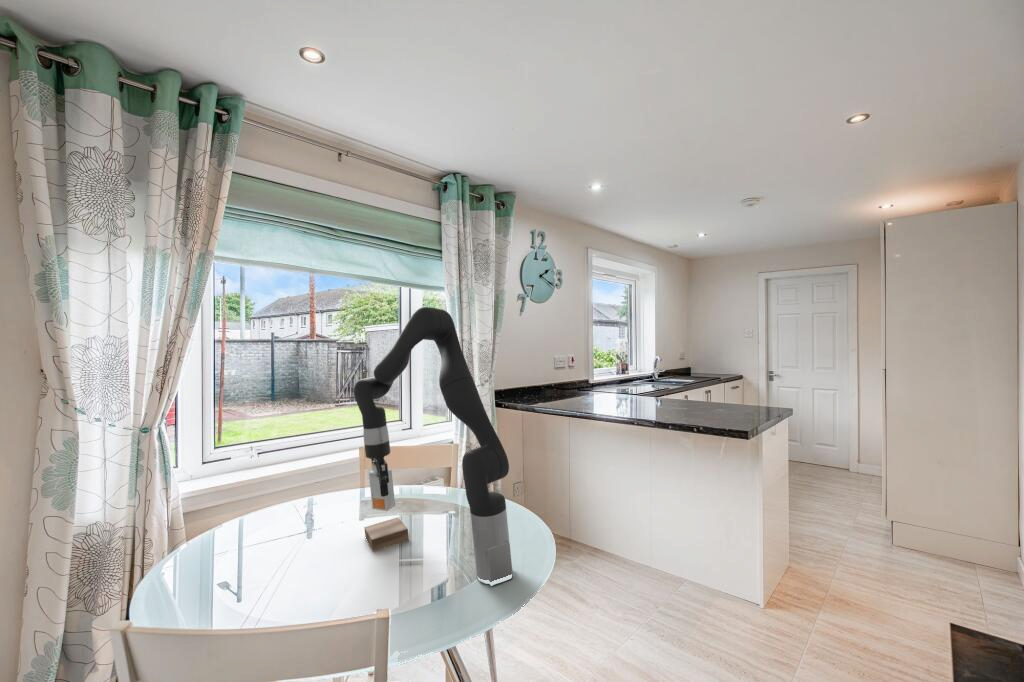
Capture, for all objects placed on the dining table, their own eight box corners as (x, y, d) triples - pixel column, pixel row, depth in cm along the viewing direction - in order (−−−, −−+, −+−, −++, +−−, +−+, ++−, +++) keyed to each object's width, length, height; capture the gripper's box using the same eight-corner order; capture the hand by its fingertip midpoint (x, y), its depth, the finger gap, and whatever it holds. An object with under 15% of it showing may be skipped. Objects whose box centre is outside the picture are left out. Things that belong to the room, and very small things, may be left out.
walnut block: (409, 541, 142) (407, 528, 142) (373, 552, 137) (371, 539, 137) (399, 529, 152) (398, 517, 152) (365, 539, 147) (364, 527, 146)
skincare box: (372, 509, 144) (367, 472, 143) (381, 504, 147) (377, 467, 147) (386, 511, 141) (382, 473, 140) (396, 506, 145) (392, 468, 144)
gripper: (393, 442, 139) (399, 495, 139) (384, 434, 151) (389, 483, 152) (368, 447, 135) (374, 502, 136) (360, 438, 148) (366, 488, 149)
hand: (382, 492), depth 144 cm, fingers closed on skincare box, 7 cm apart
